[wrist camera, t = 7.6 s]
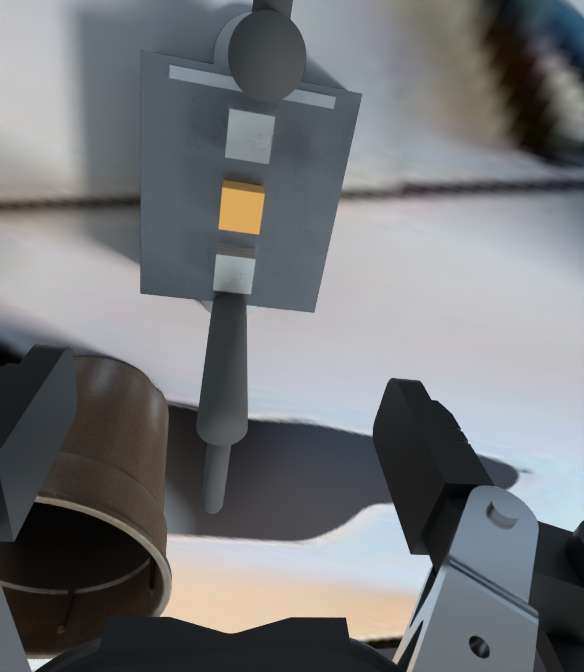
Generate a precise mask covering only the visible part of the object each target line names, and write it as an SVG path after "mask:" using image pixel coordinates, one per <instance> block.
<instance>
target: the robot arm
mask: <svg viewBox="0 0 584 672" xmlns="http://www.w3.org/2000/svg"><path fill="white" fill-rule="evenodd" d="M76 409H77V390H76V378H75V366H74V355H73V351H72V349H71V348H70V347H60V346H50V345H39V344H36V345H34V346H33V347H32V348H31V350H30V351H29V352H28V353H27V355H26V356H25V357H24V359H23V360H22V361H21V362H20V364H13V363H7V364H6V365H4V366H2V367H0V541H2V542H14V541H15V539H16V537H17V535H18V533H19V531H20V529H21V527H22V525H23V523H24V521H25V519H26V517H27V515H28V513H29V511H30V509H31V507H32V505H33V503H34V501H35V499H36V497H37V495H38V493H39V491H40V489H41V487H42V485H43V483H44V480H45V478H46V476H47V474H48V472H49V470H50V468H51V466H52V464H53V462H54V460H55V458H56V456H57V454H58V452H59V450H60V448H61V446H62V444H63V442H64V440H65V438H66V436H67V434H68V432H69V430H70V428H71V426H72V424H73V421H74V418H75V414H76ZM373 442H374V446H375V449H376V452H377V455H378V458H379V461H380V464H381V467H382V470H383V473H384V476H385V479H386V482H387V485H388V488H389V491H390V494H391V497H392V500H393V503H394V506H395V509H396V512H397V515H398V518H399V521H400V524H401V527H402V530H403V533H404V536H405V538H406V541H407V544H408V547H409V550H410V553H411V554H413V555H429V556H430V559H431V561H432V566H431V568H430V570H429V572H428V574H427V577H426V579H425V582H424V585H423V587H422V590H421V592H420V595H419V597H418V600H417V603H416V605H415V608H414V610H413V613H412V616H411V618H410V621H409V623H408V626H407V628H406V631H405V634H404V636H403V639H402V641H401V643H400V646H399V648H398V650H397V652H396V654H395V656H394V659H393V661H392V660H390V659H389V658H388V657H386V656H385V655H384V654H383V653H381V652H379V651H378V650H376V649H374V648H373V647H371V646H369V645H367V644H365V643H362V642H360V641H358V640H356V639H353V638H350V637H349V633H348V627H347V622H346V618H313V617H290V618H287V619H284V620H280V621H277V622H273V623H270V624H266V625H263V626H259V627H256V628H252V629H249V630H245V631H242V632H238V633H234V634H228V633H223V632H220V631H217V630H213V629H210V628H206V627H203V626H199V625H196V624H192V623H189V622H185V621H182V620H178V619H175V618H171V617H107V620H106V624H105V627H104V631H103V635H102V637H101V638H97V639H94V640H91V641H88V642H86V643H83V644H81V645H78V646H76V647H73V648H71V649H70V650H68V651H66V652H64V653H62V654H60V655H58V656H57V657H55V658H54V659H52V660H51V661H49V662H47V663H46V664H44V665H43V666H41V667H40V668H39V669H38V670H36V671H35V672H533V665H534V657H535V648H537V651H538V653H539V655H540V657H541V659H542V661H543V664H544V666H545V668H546V670H547V672H584V521H582V522H581V523H580V525H579V526H578V527H577V529H576V530H575V531H574V532H571V531H567V530H564V529H561V528H558V527H555V526H552V525H549V524H546V523H542V522H539V521H537V519H536V517H535V515H534V514H533V512H532V511H531V510H530V508H529V507H528V506H527V505H526V504H525V503H524V502H523V501H522V500H520V499H519V498H518V497H516V496H515V495H513V494H512V493H510V492H508V491H506V490H504V489H501V488H498V487H495V485H494V484H493V482H492V480H491V479H490V477H489V475H488V474H487V472H486V470H485V469H484V467H483V465H482V464H481V462H480V460H479V458H478V457H477V455H476V453H475V452H474V450H473V448H472V447H471V445H470V444H468V440H467V438H466V437H465V435H464V433H463V432H461V428H460V426H459V425H458V423H457V421H456V420H455V418H454V416H453V415H452V413H450V412H449V411H448V410H447V409H446V408H445V407H444V406H443V405H442V404H440V403H439V402H438V401H435V400H431V398H430V397H429V395H428V393H427V391H426V389H425V388H424V386H423V384H422V383H421V382H420V381H419V380H408V379H397V378H391V379H390V380H389V381H388V383H387V386H386V389H385V392H384V395H383V398H382V401H381V404H380V407H379V409H378V412H377V415H376V418H375V421H374V426H373ZM0 672H32V671H31V668H30V666H29V663H28V660H27V657H26V654H25V652H24V649H23V646H22V643H21V640H20V637H19V635H18V632H17V629H16V626H15V623H14V620H13V618H12V615H11V612H10V609H9V606H8V603H7V601H6V598H5V595H4V592H3V589H2V587H1V584H0Z"/></svg>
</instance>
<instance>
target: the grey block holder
mask: <svg viewBox="0 0 584 672" xmlns="http://www.w3.org/2000/svg"><path fill="white" fill-rule="evenodd" d="M361 97H362V94H361V93H356V92H352V91H347V90H342V89H337V88H332V87H327V86H321V85H316V84H311V83H306V82H301V81H300V83H299V85H298V86H297V87H296V89H295V90H294V91H293V92H292V93H291V94H290V95H288V96H287V97H285V98H283V99H281V100H278V101H274V102H262V101H258V100H255V99H253V98H251V97H249V96H248V95H247V94H245V93H244V92H243V91H242V90H241V89H240V88H239V86H238V85H237V84H236V82H235V80H234V79H233V76H232V74H231V71H230V68H229V67H225V66H220V65H215V64H210V63H205V62H200V61H194V60H189V59H184V58H179V57H174V56H169V55H164V54H159V53H154V52H148V51H142V50H141V270H140V293H141V294H150V295H159V296H168V297H177V298H186V299H195V300H204V301H213V302H214V301H215V300H216V299H217V298H218V297H220V296H222V295H225V294H232V295H236V296H238V297H240V298H241V299H242V300H243V301H244V303H245V305H249V306H258V307H267V308H276V309H285V310H294V311H303V312H312V313H314V311H315V307H316V302H317V297H318V293H319V288H320V284H321V279H322V275H323V270H324V266H325V261H326V256H327V252H328V247H329V243H330V238H331V234H332V229H333V225H334V220H335V215H336V211H337V206H338V202H339V197H340V193H341V188H342V184H343V179H344V175H345V170H346V165H347V161H348V156H349V152H350V147H351V143H352V138H353V134H354V129H355V124H356V120H357V115H358V111H359V106H360V102H361ZM224 180H228V181H234V182H241V183H247V184H253V185H260V186H264V192H265V196H264V203H263V211H262V218H261V225H260V232H259V235H258V234H250V233H243V232H236V231H228V230H221V229H219V218H220V207H221V196H222V186H223V181H224Z"/></svg>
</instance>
